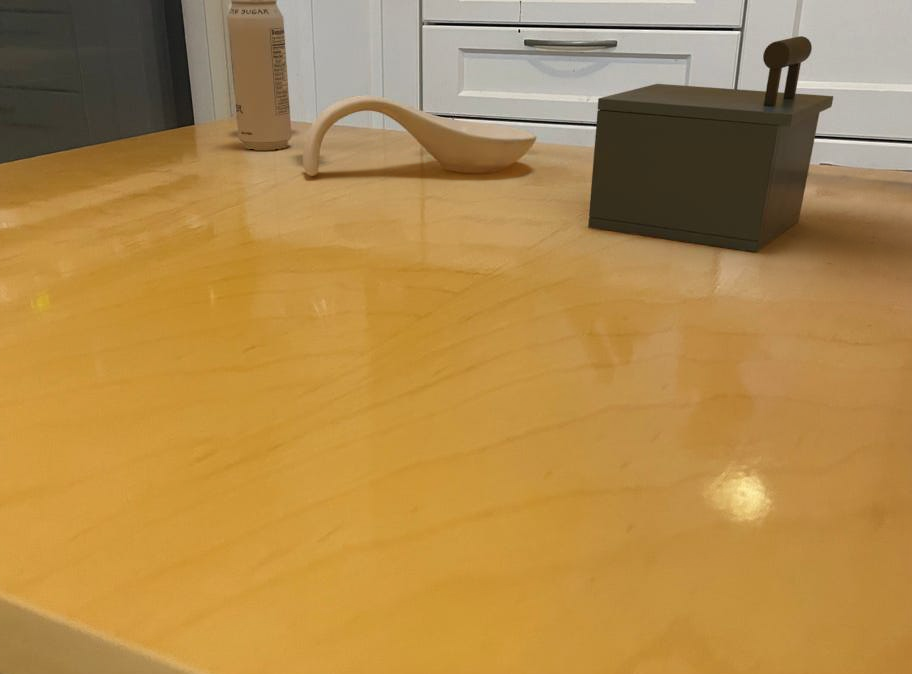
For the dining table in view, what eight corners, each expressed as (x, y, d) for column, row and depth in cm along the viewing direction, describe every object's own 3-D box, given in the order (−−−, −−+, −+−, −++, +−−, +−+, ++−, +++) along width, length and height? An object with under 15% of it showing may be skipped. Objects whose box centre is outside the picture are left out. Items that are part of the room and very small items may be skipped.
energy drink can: (247, 142, 111) (234, -2, 104) (297, 142, 111) (287, -2, 103) (233, 150, 106) (218, 0, 98) (285, 151, 105) (274, 0, 98)
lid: (831, 107, 73) (845, 35, 70) (790, 126, 64) (804, 45, 62) (655, 93, 80) (662, 28, 77) (597, 109, 71) (603, 36, 69)
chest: (799, 220, 77) (820, 106, 73) (756, 252, 69) (778, 125, 65) (643, 200, 84) (655, 94, 80) (587, 227, 76) (597, 110, 71)
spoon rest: (513, 156, 103) (516, 85, 100) (550, 176, 93) (555, 98, 90) (298, 165, 98) (293, 91, 95) (313, 188, 88) (308, 106, 85)
